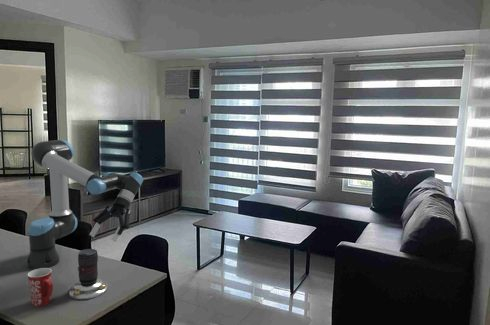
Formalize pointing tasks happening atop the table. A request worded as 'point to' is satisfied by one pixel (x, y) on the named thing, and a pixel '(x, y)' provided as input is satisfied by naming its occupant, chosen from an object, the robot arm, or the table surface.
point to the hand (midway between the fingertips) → (102, 238)
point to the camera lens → (88, 267)
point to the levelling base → (87, 294)
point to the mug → (40, 286)
